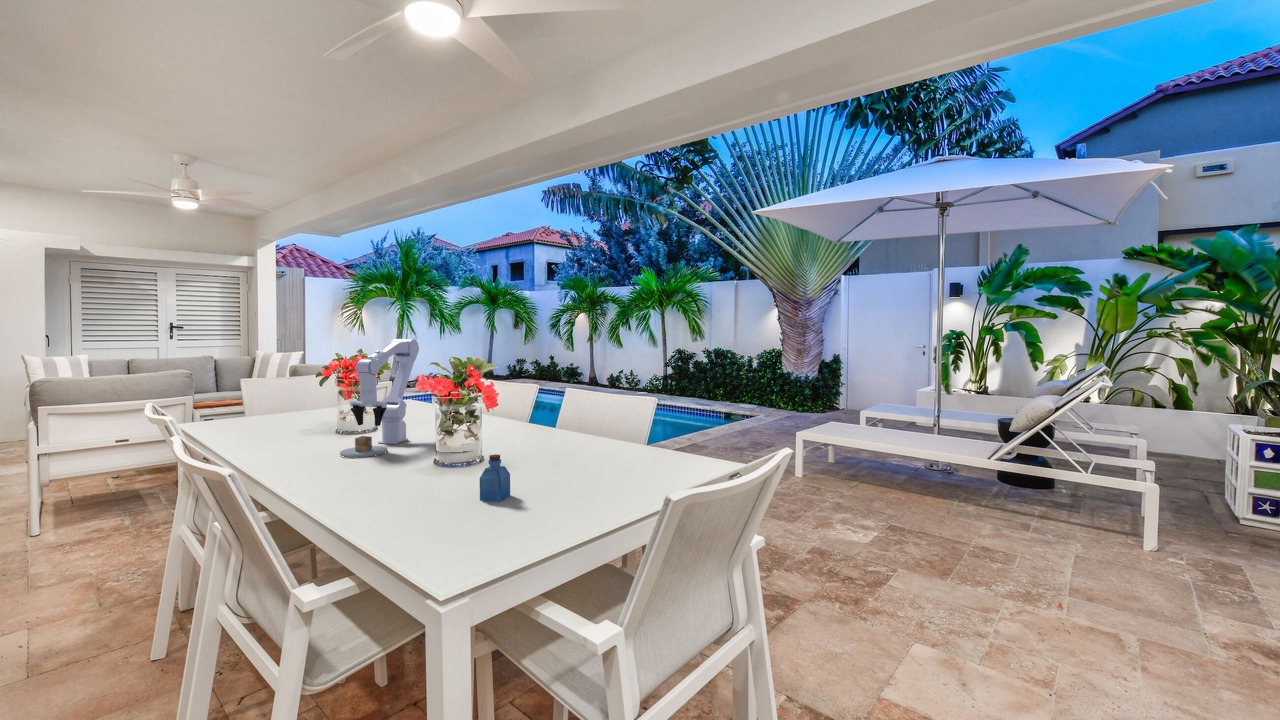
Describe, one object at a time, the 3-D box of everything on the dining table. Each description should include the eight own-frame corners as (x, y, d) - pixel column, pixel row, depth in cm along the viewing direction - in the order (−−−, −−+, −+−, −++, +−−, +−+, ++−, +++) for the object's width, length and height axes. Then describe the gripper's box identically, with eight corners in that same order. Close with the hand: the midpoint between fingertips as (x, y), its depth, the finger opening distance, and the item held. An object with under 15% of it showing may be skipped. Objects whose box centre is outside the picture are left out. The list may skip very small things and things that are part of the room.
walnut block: (362, 449, 213) (362, 436, 213) (371, 449, 212) (371, 436, 212) (355, 451, 209) (355, 438, 209) (364, 451, 208) (364, 438, 208)
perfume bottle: (500, 501, 154) (500, 458, 153) (479, 500, 155) (479, 457, 154) (510, 495, 160) (509, 453, 159) (490, 493, 161) (489, 452, 160)
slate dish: (359, 447, 220) (359, 445, 220) (396, 449, 217) (396, 446, 217) (329, 456, 204) (329, 454, 204) (369, 459, 201) (369, 456, 201)
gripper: (344, 391, 213) (345, 426, 214) (378, 392, 210) (379, 427, 211) (356, 389, 220) (357, 423, 221) (390, 390, 217) (390, 424, 218)
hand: (369, 425), depth 216 cm, fingers open, 7 cm apart
